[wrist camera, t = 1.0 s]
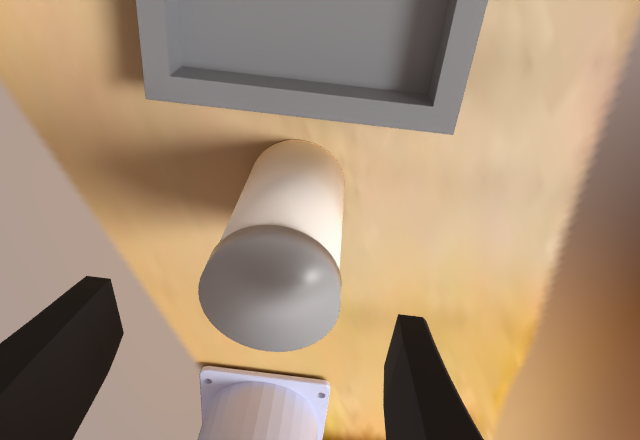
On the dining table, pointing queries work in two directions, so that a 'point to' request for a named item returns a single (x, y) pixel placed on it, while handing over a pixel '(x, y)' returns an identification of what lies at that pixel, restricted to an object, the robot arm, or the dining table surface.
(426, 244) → the dining table surface
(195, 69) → the gray tray
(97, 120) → the dining table surface
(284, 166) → the salt shaker
